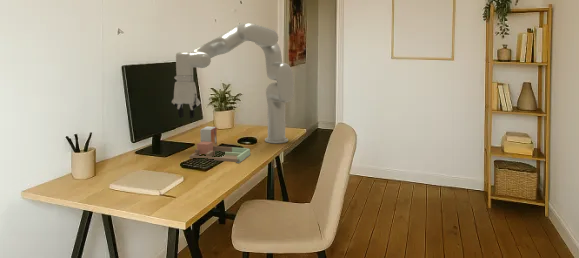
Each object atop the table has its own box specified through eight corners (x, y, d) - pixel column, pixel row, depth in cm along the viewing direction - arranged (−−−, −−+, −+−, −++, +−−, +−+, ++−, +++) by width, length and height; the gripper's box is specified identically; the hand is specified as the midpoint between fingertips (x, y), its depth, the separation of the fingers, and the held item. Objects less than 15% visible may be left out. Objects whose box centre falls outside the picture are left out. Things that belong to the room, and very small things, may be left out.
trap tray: (203, 151, 209) (203, 145, 209) (250, 154, 204) (250, 148, 203) (189, 159, 195) (189, 152, 194) (238, 163, 189) (238, 156, 189)
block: (202, 151, 207) (202, 141, 206) (213, 152, 206) (212, 141, 205) (197, 154, 202) (197, 143, 201) (208, 154, 201) (207, 144, 200)
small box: (211, 150, 211) (210, 129, 209) (200, 150, 212) (200, 129, 210) (217, 146, 218) (216, 126, 216) (207, 146, 219) (206, 126, 217)
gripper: (164, 79, 198) (166, 118, 201) (198, 80, 194) (199, 119, 197) (172, 78, 205) (174, 115, 208) (205, 79, 201) (206, 117, 204)
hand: (186, 117), depth 203 cm, fingers open, 4 cm apart
